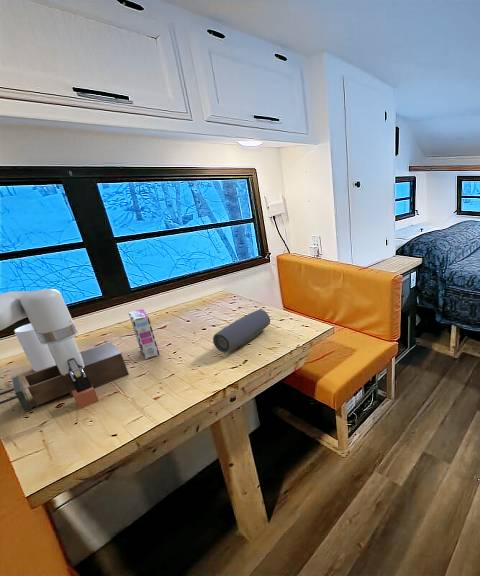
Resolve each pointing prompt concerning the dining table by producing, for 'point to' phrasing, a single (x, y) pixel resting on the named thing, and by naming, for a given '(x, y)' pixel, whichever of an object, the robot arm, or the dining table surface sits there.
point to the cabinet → (100, 366)
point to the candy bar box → (144, 333)
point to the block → (85, 397)
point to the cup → (34, 348)
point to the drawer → (39, 387)
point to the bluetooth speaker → (241, 331)
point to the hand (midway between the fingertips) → (81, 383)
